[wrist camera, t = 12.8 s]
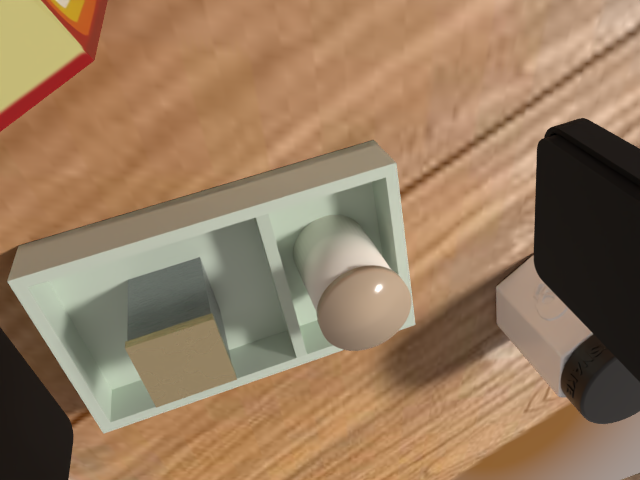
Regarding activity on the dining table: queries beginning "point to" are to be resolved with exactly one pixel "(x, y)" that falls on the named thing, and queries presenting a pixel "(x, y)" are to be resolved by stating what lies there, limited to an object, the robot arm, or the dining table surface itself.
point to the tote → (221, 268)
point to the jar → (564, 348)
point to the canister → (350, 284)
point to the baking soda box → (43, 49)
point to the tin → (177, 333)
